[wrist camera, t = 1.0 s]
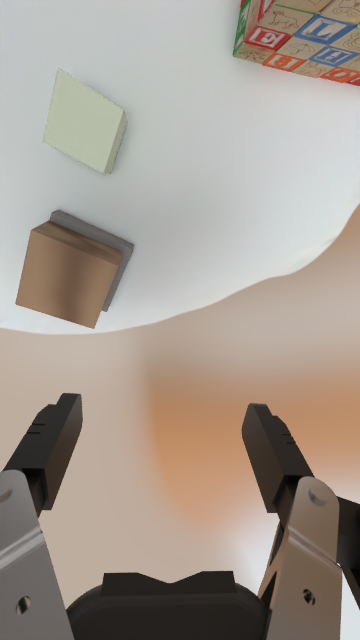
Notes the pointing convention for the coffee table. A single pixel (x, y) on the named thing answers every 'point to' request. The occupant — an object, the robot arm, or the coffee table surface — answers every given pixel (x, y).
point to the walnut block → (66, 274)
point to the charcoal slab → (103, 238)
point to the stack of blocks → (302, 37)
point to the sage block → (84, 124)
